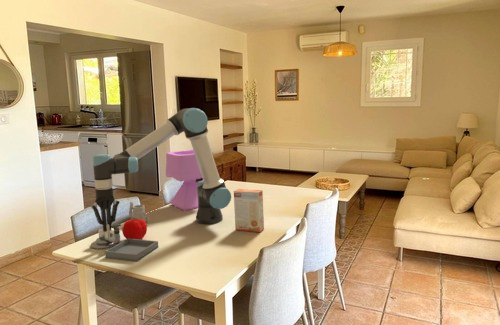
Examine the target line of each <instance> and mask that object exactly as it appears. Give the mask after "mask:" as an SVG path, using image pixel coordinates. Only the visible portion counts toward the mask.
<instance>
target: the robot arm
mask: <svg viewBox="0 0 500 325" xmlns="http://www.w3.org/2000/svg"><path fill="white" fill-rule="evenodd" d="M208 132H209V130H208V116H207V115H206V113H205V112H204V111H203V110H201V109H200V108H196V107H190V108H189V107H187V108H182V109H180V110H179V111H178V112H176V113H174V114H173V115H172V116H170V117H169V118H168V119H166V122H165V123H164V124H162V125H160V126H159V127H157V128H156V129H155V130H153V131H151V132H149V133H148V134H147V135H146V136H144V137H143V138H141V139H140V140H138V141H137V142H135V143H133V144H132V145H131V146H129V147H128V148H126V149H125V150H123V151H122V152H120V153H117V154H115V155H114V156H113V157H111V154H109V153H108V154H107V153H102V154H101V153H100V154H95V155H94V156H93V157H92V159H93V160H92V161H93V162H92V163H93V164H92V166H93V175H94V176H93V178H94V188H95V190H94V191H95V192H94V193H95V201H94V203H93V204H91V205H90V208H91V209H92V210H93V213H94V216H95V218H96V221H97V224H99V225H101V226H102V228H103V231H104V232H105V237H106V238H110V230H112V224H113V223H114V222H116V218H117V212H118V206H119V205H120V201H119V200H116V199H115V197H114V188H113V186H114V185H113V175H118V174H119V175H121V174H122V175H123V174H132V173H137V172H138V171H139V159H142V157H144V156H145V155H147V154H148V153H150V152H152V151H153V150H155V149H156V148H157V147H159V146H160V145H162V144H163V143H164V142H166V141H168V140H170V139H171V138H172V137H174V136H178V135H180V134H183V133H184V136H185V138H186V139H187V140H188V141H190V144H191V148H192V150H194V153H195V156H196V159H197V163H198V166H199V169H200V172H201V175H202V178H201V179H202V180H199V181H197V194H198V208H197V210H196V211H197V212H196V215H195V222H196V223H197V224H203V225H210V224H216V223H220V222H222V221H223V220H224V219H223V216H224V215H223V213H222V210H223V209H225V208H226V207H228V206H229V204H230V203H231V201H232V193H231V191H230V190H229V189H228V188H227V187H226V183H225V181H224V179H223V178H221V177H220V174H219V171H218V167H217V164H216V161H215V159H214V156H213V155H212V153H213V151H212V148H211V146H210V142H209V139H208V136H207V135H208ZM98 207H99V209H100V212H99V210H98Z"/></svg>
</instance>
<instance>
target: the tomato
mask: <svg viewBox="0 0 500 325" xmlns="http://www.w3.org/2000/svg"><path fill="white" fill-rule="evenodd" d="M147 230H148V225H147V221H146V222H145V221H144V220H142V219H137V218H136V219H135V218H134V219H131V218H130V219H127V220H126V221H125V222H124V223H123V225H122V230H121V233H122V235H123V238H125V240H126V239H139V240H143V239H144V237H145V236H146V235H147Z"/></svg>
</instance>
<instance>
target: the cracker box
mask: <svg viewBox="0 0 500 325" xmlns="http://www.w3.org/2000/svg"><path fill="white" fill-rule="evenodd" d="M233 205H234V209H233V210H234V223H235V224H234V226H235V230H236V231H241V232H243V231H244V232H252V233H253V232H254V233H261V232H263V230H265V222H264V221H265V218H264V196H263V189H261V190H260V189H248V188H247V189H245V188H238V189H235V190H234V191H233Z"/></svg>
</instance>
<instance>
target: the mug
mask: <svg viewBox="0 0 500 325" xmlns="http://www.w3.org/2000/svg"><path fill="white" fill-rule="evenodd" d="M145 208H146V207H145V205H144V204H136V205H134V203H133V201H129V208H128V210H129V211H128V214H129V215H128V216H129V218H130V219H134V218H135V219H136V218H137V219H142V220H144V221H145V222H146V223H147V220H148V219H147V215H146V209H145Z"/></svg>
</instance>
